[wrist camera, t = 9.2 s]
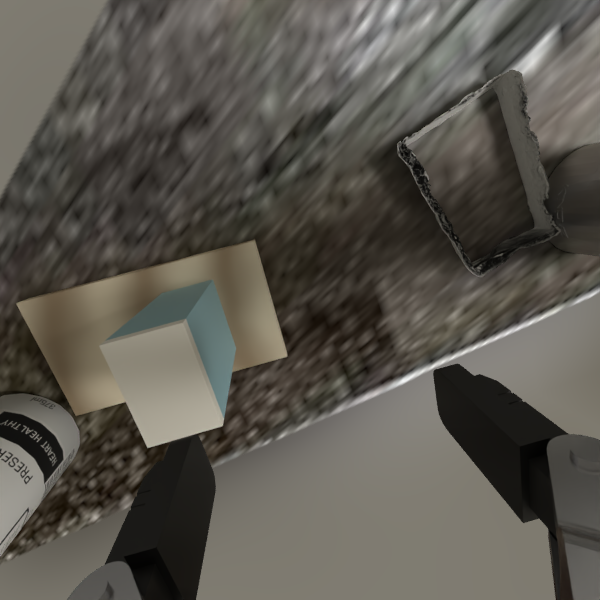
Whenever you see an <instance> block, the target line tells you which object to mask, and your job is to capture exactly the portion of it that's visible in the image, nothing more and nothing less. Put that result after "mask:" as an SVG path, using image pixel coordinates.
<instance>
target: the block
mask: <svg viewBox="0 0 600 600" xmlns="http://www.w3.org/2000/svg"><path fill="white" fill-rule="evenodd" d="M99 347H100V349H101V351H102V353H103V355H104V357H105V359H106V361H107V363H108V366H109V368H110V370H111V372H112V374H113V376H114V378H115V380H116V382H117V384H118V387H119V389H120V391H121V393H122V395H123V397H124V399H125V401H126V403H127V405H128V407H129V410H130V412H131V414H132V416H133V418H134V420H135V422H136V424H137V426H138V428H139V431H140V433H141V435H142V437H143V439H144V441H145V443H146V445H147V447H148V448H149V447H152V446H156V445H159V444H163V443H166V442H170V441H173V440H176V439H180V438H183V437H187V436H190V435H194V434H197V433H200V432H204V431H207V430H211V429H214V428H218V427H221V426H223V421H224V416H225V410H226V404H227V398H228V392H229V387H230V381H231V375H232V369H233V363H234V358H235V352H236V346H235V343H234V340H233V337H232V334H231V331H230V329H229V326H228V323H227V320H226V317H225V314H224V311H223V308H222V305H221V302H220V299H219V296H218V293H217V290H216V287H215V284H214V281H213V280H209V281H205V282H201V283H198V284H194V285H190V286H187V287H183V288H179V289H175V290H172V291H168V292H164V293H161V294H160V295H159V296H158V297H157V298H155V299H154V300H153V301H152V302H151V303H149V304H148V305H147V306H146V307H145V308H144V309H142V310H141V311H140V312H139V313H138V314H136V315H135V316H134V317H133V318H132V319H130V320H129V321H128V322H127V323H126V324H124V325H123V326H122V327H121V328H120V329H118V330H117V331H116V332H115V333H114V334H112V335H111V336H110V337H109V338H108V339H106V340H105V341H104V342H103V343H102V344H100V345H99Z"/></svg>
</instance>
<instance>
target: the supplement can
mask: <svg viewBox="0 0 600 600" xmlns="http://www.w3.org/2000/svg"><path fill="white" fill-rule="evenodd" d="M79 446H80V437H79V429H78V427H77V425H76V423H75V421H74V419H73V417H72V416H71V415H70V414H69V413H68V412H67V411H66V410H65V409H64V408H63V407H62V406H61V405H59V404H57V403H55V402H53V401H51V400H49V399H47V398H44V397H41V396H35V395H30V394H24V393H21V394H10V395H3V396H1V397H0V556H1V555H2V554H3V552H4V551H5V550H6V548H7V547H8V546H9V544H10V543H11V542H12V540H13V539H14V538H15V536H16V535H17V534H18V532H19V531H20V530H21V528H22V527H23V526H24V524H25V523H26V522H27V520H28V519H29V518H30V516H31V515H32V514H33V512H34V511H35V510H36V508H37V507H38V506H39V504H40V503H41V502H42V500H43V499H44V498H45V496H46V495H47V494H48V492H49V491H50V490H51V488H52V487H53V486H54V484H55V483H56V482H57V480H58V479H59V478H60V476H61V475H62V474H63V472H64V471H65V470H66V468H67V467H68V466H69V464H70V463H71V462H72V460H73V459H74V458H75V455H76V453H77V451H78V448H79Z"/></svg>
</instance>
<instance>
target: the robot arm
mask: <svg viewBox="0 0 600 600" xmlns="http://www.w3.org/2000/svg"><path fill="white" fill-rule="evenodd" d="M548 180H549V184H550V189H549V192H548V193H549V197H548V199H547V198H545V201H544V202H543V203H544V206H545V208H546V210H547V211H548V213H549V214H552V215H553V216H554V219H553V221H554V224H555V225H556V224H557V227H558V228H559V229H560V230H561V232H560V233H559V234H558V235H556V236H554V237H552V238H551V239H550V240H549V241H550V242H551V243H552V244H553V245H554V246H555V247H557V248H559V249H561V250H563V251H566V252H571V253H578V254H585V255H593V256H600V142H599V143H595V144H591V145H586V146H584V147H582V148H580V149H578V150H576V151H574V152H572V153H571V154H570V155H569V156H567V157H566V158H565V159H564V160H563V161H562V162H561V163H560V164H559V165H558V166H557V167H556V168H555V170H554V171H553V173H552V175H551V176H550V178H549V179H548ZM433 375H434V384H435V391H436V399H437V406H438V411H439V415H440V417H441V420H442V422H443V424H444V426H445V427H446V429H447V430H448V431H449V433H450V434H451V435H452V436H453V437H454V439H455V440H456V441H457V442H458V443H459V445H460V446H461V447H462V449H463V450H464V451H465V452H466V454H467V455H468V456H469V457H470V458H471V460H472V461H473V462H474V463H475V465H476V466H477V467H478V468H479V469H480V471H481V472H482V473H483V474H484V476H485V477H486V478H487V479H488V480H489V482H490V483H491V484H492V485H493V487H494V488H495V489H496V490H497V492H498V493H499V494H500V495H501V496H502V498H503V499H504V500H505V501H506V502H507V504H508V505H509V506H510V507H511V509H512V510H513V511H514V512H515V514H516V515H517V516H518V517H519V518H520V520H521V521H522V522H523V523H525V522H528V521H532V520H535V519H538V518H539V519H540V520H541V521H542V522H543V523H544V524H545V525H546V526H547V528H548V539H549V548H550V556H551V564H552V573H553V581H554V590H555V598H556V600H600V440H598V439H596V438H592V437H588V436H583V435H575V434H568V433H566V432H565V431H564V430H562V429H561V428H560V427H558V426H557V425H556V424H554V423H553V422H552V421H550V420H549V419H547V418H546V417H545V416H544V415H542V414H541V413H539V412H538V411H537V410H536V409H534V408H533V407H531V406H530V405H529V404H527V403H526V402H523V401H522V399H521V398H519V397H518V396H517V395H515V394H514V393H511V391H510V390H509V389H507V388H506V387H504V386H503V385H502V384H501V383H499V382H498V381H496V380H493V379H491V378H488V377H485V376H483V375H480V374H479V375H476V376H473V375H472V374H471V373H470V372H468V371H467V370H466V369H464V367H462V366H461V365H460V364H454V365H450V366H447V367H443V368H440V369H436V370H434V373H433ZM215 487H216V486H215V476H214V473H213V469H212V467H211V465H210V462H209V460H208V457H207V455H206V452H205V450H204V447H203V445H202V442H201V440H200V438H199V436H198V435H196V434H195V435H192V436H188V437H184V438H181V439H177V440H173V441H172V442H171V443H170V445H169V447H168V450H167V452H166V455H165V457H164V460H163V461H160V462H157V463H156V464H155V465H154V466H153V468H152V469H151V470H150V471H149V472H148V474H147V475H146V476H145V477H144V479H143V481H142V484H141V486H140V488H139V490H138V492H137V497H135V499H134V501H133V503H132V506H131V510H130V511H129V512H128V515H127V517H126V519H125V521H124V523H123V525H122V528H121V530H120V532H119V534H118V537H117V539H116V541H115V543H114V545H113V547H112V550H111V552H110V554H109V556H108V559H107V561H106V563H105V565H104V566H101V567H100V568H98V569H96V570H95V571H94V572H92V573H91V574H90V575H88V576H87V577H86V578H85V579H84V580H83V581H82V582H81V583H80V584H79V585H78V586H77V587H76V588H75V590H74V591H73V592H72V593H71V595H70V596H69V597H68V599H67V600H196V596H197V590H198V585H199V579H200V574H201V569H202V563H203V558H204V552H205V547H206V541H207V535H208V530H209V524H210V519H211V513H212V508H213V502H214V496H215V489H216V488H215Z"/></svg>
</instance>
